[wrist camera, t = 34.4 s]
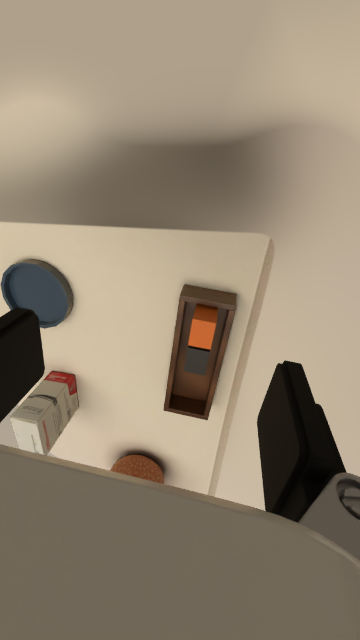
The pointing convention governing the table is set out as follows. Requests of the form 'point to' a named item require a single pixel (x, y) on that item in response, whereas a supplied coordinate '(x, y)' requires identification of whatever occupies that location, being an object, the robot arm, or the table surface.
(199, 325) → the orange tall block
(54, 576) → the robot arm
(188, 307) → the holder
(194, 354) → the black block
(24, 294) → the bowl
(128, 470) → the planter
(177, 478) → the table surface
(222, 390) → the table surface
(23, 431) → the ink box
